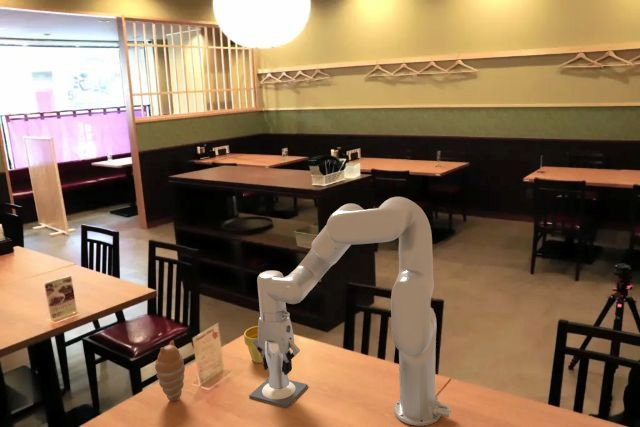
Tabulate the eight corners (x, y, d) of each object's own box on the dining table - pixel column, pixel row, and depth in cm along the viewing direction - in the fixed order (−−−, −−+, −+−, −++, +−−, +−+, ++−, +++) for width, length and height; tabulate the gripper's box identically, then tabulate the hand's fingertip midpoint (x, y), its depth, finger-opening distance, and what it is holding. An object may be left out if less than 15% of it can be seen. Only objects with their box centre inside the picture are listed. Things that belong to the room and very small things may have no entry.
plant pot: (246, 352, 183) (244, 326, 180) (276, 349, 184) (274, 323, 181) (245, 367, 173) (243, 340, 170) (277, 364, 174) (275, 337, 171)
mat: (307, 386, 160) (307, 384, 159) (286, 408, 149) (286, 405, 149) (271, 377, 166) (271, 375, 165) (249, 397, 155) (249, 394, 155)
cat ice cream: (174, 389, 162) (167, 335, 158) (194, 394, 158) (188, 339, 154) (153, 405, 154) (146, 348, 150) (174, 411, 151) (167, 353, 147)
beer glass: (280, 392, 152) (276, 345, 149) (262, 385, 156) (258, 339, 153) (295, 381, 157) (292, 335, 154) (278, 375, 162) (274, 330, 158)
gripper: (305, 313, 151) (309, 369, 155) (256, 304, 159) (260, 358, 163) (292, 323, 144) (296, 382, 148) (241, 314, 152) (246, 370, 157)
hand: (277, 369), depth 156 cm, fingers closed on beer glass, 6 cm apart
